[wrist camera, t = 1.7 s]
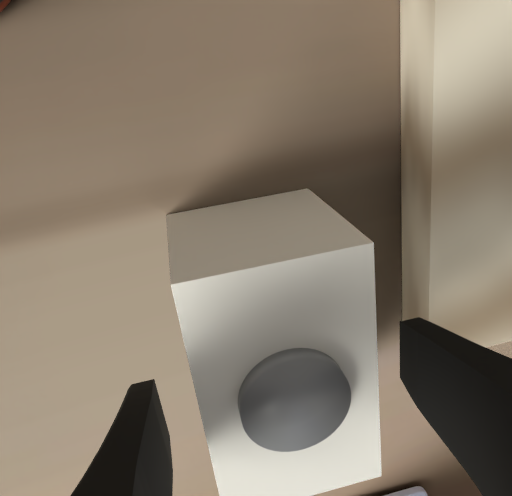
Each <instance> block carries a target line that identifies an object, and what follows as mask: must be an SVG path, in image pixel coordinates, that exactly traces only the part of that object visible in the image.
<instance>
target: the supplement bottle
mask: <svg viewBox="0 0 512 496" xmlns="http://www.w3.org/2000/svg"><path fill="white" fill-rule="evenodd" d="M10 1H11V0H0V12H1V11H2V10H3V9H4V8H5V7H6V6H7V5H8V3H9V2H10Z"/></svg>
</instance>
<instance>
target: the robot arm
mask: <svg viewBox="0 0 512 496" xmlns="http://www.w3.org/2000/svg"><path fill="white" fill-rule="evenodd" d="M400 378H401V380H402V382H403V384H404V385H405V387H406V389H407V391H408V393H409V394H410V396H411V398H412V399H413V401H414V403H415V404H416V406H417V408H418V409H419V410H420V412H421V413H422V414H423V416H424V417H425V418H426V420H427V421H428V422H429V424H430V425H431V426H432V428H433V429H434V430H435V431H436V433H437V434H438V435H439V437H440V438H441V439H442V441H443V442H444V443H445V444H446V446H447V447H448V448H449V450H450V451H451V452H452V453H453V455H454V456H455V457H456V459H457V460H458V461H459V463H460V464H461V465H462V466H463V468H464V469H465V470H466V472H467V473H468V475H469V476H470V477H471V479H472V480H473V482H474V483H475V484H476V486H477V487H478V489H479V491H480V492H481V494H482V495H483V496H512V359H511V358H509V357H506V356H504V355H501V354H499V353H497V352H494V351H492V350H490V349H488V348H485V347H483V346H481V345H479V344H477V343H474V342H472V341H470V340H468V339H466V338H464V337H461V336H459V335H457V334H455V333H453V332H451V331H449V330H447V329H445V328H443V327H440V326H438V325H436V324H434V323H432V322H430V321H427V320H425V319H423V318H420V317H417V318H413V319H409V320H404V321H400ZM172 483H173V469H172V457H171V446H170V435H169V432H168V428H167V424H166V421H165V417H164V414H163V410H162V406H161V403H160V399H159V395H158V392H157V388H156V384H155V381H154V379H153V380H149V381H144V382H140V383H136V384H132V385H131V386H130V387H129V389H128V391H127V394H126V396H125V398H124V401H123V403H122V405H121V407H120V410H119V412H118V414H117V416H116V418H115V420H114V422H113V424H112V426H111V428H110V430H109V432H108V434H107V436H106V438H105V440H104V441H103V443H102V445H101V447H100V449H99V451H98V452H97V454H96V456H95V457H94V459H93V461H92V463H91V464H90V466H89V468H88V469H87V471H86V473H85V474H84V476H83V478H82V479H81V481H80V482H79V484H78V485H77V487H76V488H75V490H74V491H73V493H72V494H71V496H172ZM383 496H428V495H427V493H426V491H425V490H424V488H423V487H420V486H415V487H411V488H408V489H404V490H401V491H397V492H394V493H390V494H387V495H383Z"/></svg>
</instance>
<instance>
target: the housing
mask: <svg viewBox="0 0 512 496" xmlns="http://www.w3.org/2000/svg"><path fill="white" fill-rule="evenodd" d="M166 222H167V237H168V252H169V266H170V281H171V288H172V292H173V297H174V301H175V305H176V310H177V314H178V318H179V323H180V327H181V331H182V336H183V340H184V344H185V349H186V353H187V357H188V362H189V366H190V370H191V375H192V379H193V383H194V388H195V392H196V396H197V401H198V405H199V409H200V413H201V418H202V422H203V426H204V431H205V435H206V439H207V444H208V448H209V452H210V457H211V461H212V465H213V470H214V474H215V478H216V483H217V487H218V491H219V496H312V495H316V494H319V493H323V492H326V491H330V490H333V489H337V488H341V487H344V486H348V485H351V484H355V483H358V482H362V481H366V480H369V479H373V478H376V477H380V476H381V446H380V415H379V385H378V355H377V324H376V294H375V264H374V242H373V241H371V240H370V239H369V238H368V237H366V236H365V235H364V234H363V233H362V232H360V231H359V230H358V229H357V228H356V227H354V226H353V225H352V224H351V223H349V222H348V221H347V220H346V219H345V218H343V217H342V216H341V215H340V214H339V213H337V212H336V211H335V210H334V209H332V208H331V207H330V206H329V205H328V204H326V203H325V202H324V201H323V200H322V199H320V198H319V197H318V196H317V195H316V194H314V193H313V192H312V191H311V190H309V189H308V188H307V189H302V190H296V191H291V192H286V193H280V194H275V195H270V196H264V197H259V198H254V199H248V200H243V201H238V202H232V203H227V204H222V205H216V206H211V207H206V208H200V209H195V210H190V211H184V212H179V213H174V214H168V215H166Z"/></svg>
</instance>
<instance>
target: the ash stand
mask: <svg viewBox="0 0 512 496" xmlns="http://www.w3.org/2000/svg"><path fill="white" fill-rule="evenodd" d="M400 52H401V199H402V321H404V320H409V319H413V318H417V317H420V318H423V319H425V320H427V321H430V322H432V323H434V324H436V325H438V326H440V327H443V328H445V329H447V330H449V331H451V332H453V333H455V334H457V335H459V336H461V337H464V338H466V339H468V340H470V341H472V342H474V343H477V344H479V345H481V346H483V347H489V346H493V345H498V344H502V343H506V342H510V341H512V0H400Z"/></svg>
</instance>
